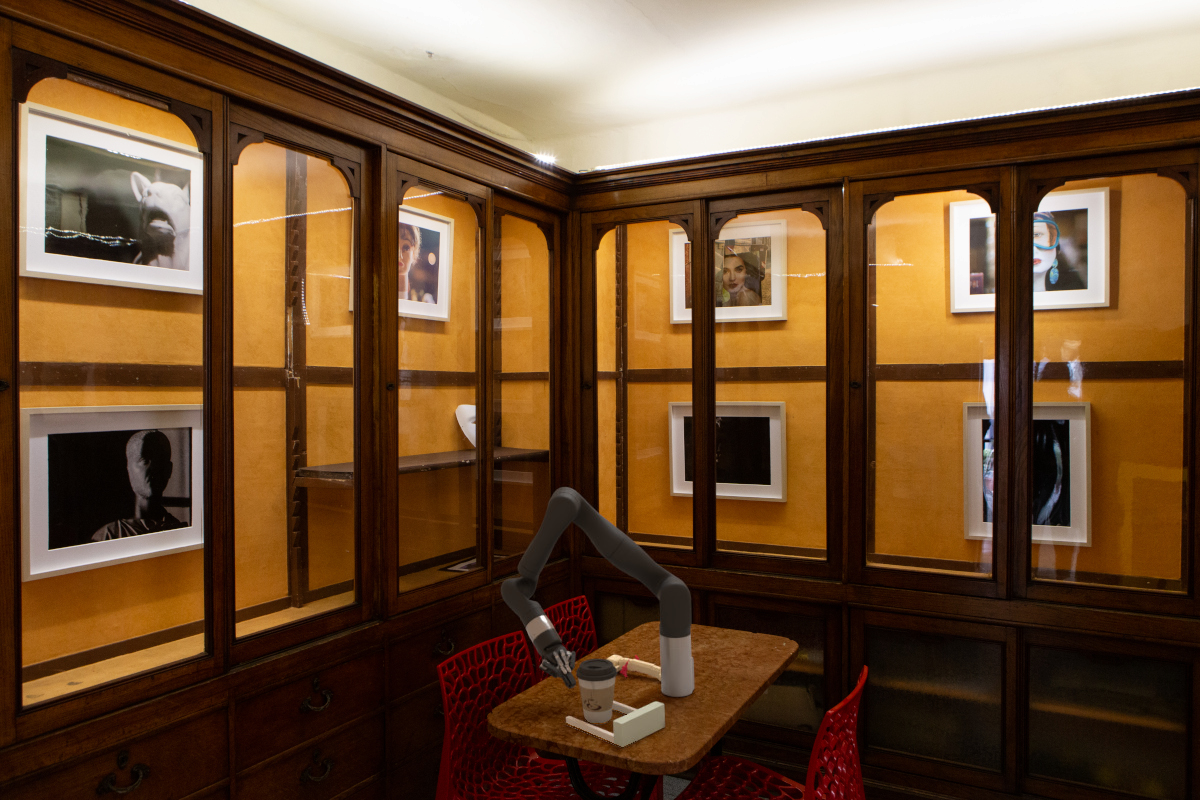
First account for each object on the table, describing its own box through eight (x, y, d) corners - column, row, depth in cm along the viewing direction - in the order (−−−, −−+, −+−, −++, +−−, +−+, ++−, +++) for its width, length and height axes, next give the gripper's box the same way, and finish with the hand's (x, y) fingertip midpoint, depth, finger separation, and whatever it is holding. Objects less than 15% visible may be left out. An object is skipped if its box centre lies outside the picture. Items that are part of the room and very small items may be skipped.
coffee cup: (571, 725, 203) (569, 670, 203) (584, 708, 214) (583, 656, 214) (612, 729, 200) (610, 673, 200) (623, 712, 211) (621, 658, 211)
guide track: (608, 705, 215) (608, 684, 216) (665, 726, 201) (664, 704, 201) (566, 724, 204) (565, 702, 204) (622, 748, 189) (621, 724, 189)
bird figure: (680, 681, 236) (611, 662, 249) (681, 654, 236) (612, 636, 249) (665, 692, 228) (595, 672, 241) (666, 664, 227) (596, 645, 240)
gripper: (531, 633, 216) (561, 686, 207) (565, 622, 225) (595, 673, 217) (520, 647, 220) (549, 700, 211) (554, 636, 229) (583, 687, 220)
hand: (572, 686), depth 214 cm, fingers closed
